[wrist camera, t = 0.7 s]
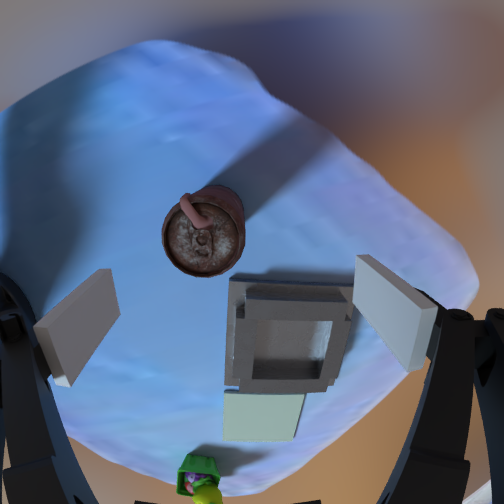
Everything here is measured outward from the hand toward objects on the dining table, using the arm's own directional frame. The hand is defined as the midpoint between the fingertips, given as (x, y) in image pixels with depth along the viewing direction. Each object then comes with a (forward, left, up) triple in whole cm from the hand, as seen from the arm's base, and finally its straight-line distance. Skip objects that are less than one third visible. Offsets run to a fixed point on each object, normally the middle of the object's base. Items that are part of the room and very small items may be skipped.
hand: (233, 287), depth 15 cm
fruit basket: (-4, -48, -20) cm, 52 cm away
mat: (+6, -31, -20) cm, 37 cm away
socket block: (+8, -15, -20) cm, 26 cm away
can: (-2, +1, -20) cm, 20 cm away
